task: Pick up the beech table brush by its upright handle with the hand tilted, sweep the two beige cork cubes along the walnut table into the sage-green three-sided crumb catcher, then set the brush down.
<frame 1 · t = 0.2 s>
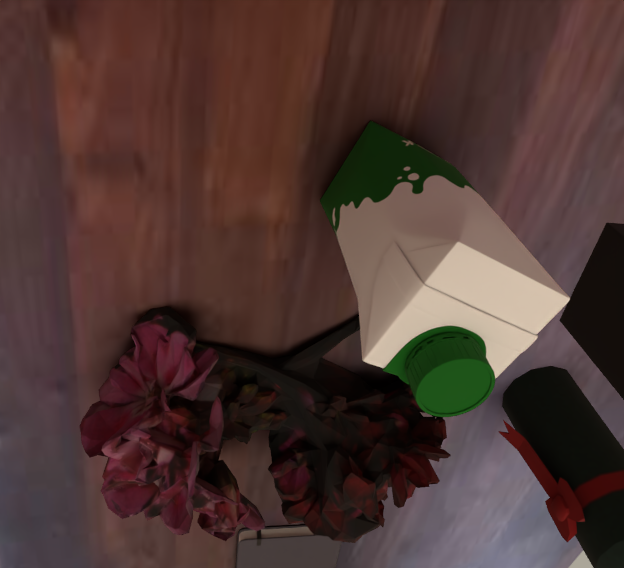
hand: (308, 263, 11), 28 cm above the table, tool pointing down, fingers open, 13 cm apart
flower arrangement: (266, 386, 53), on the table
wine bottle: (526, 391, 58), on the table
soya milk: (381, 179, 42), on the table
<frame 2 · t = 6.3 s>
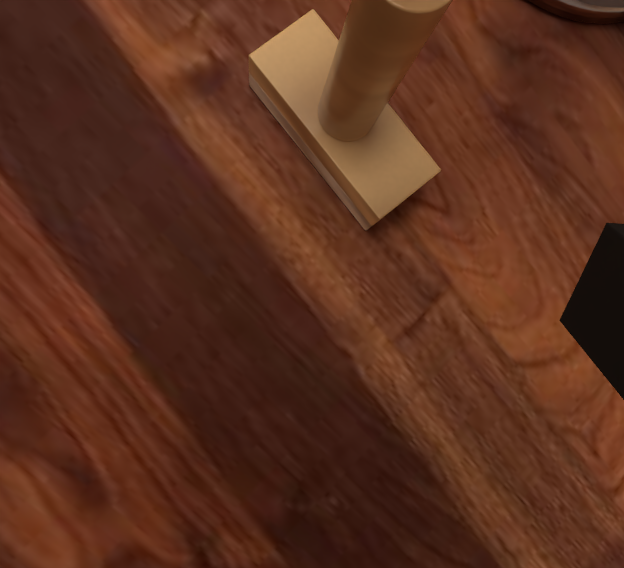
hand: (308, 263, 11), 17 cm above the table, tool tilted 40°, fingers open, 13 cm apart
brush: (335, 136, 29), on the table
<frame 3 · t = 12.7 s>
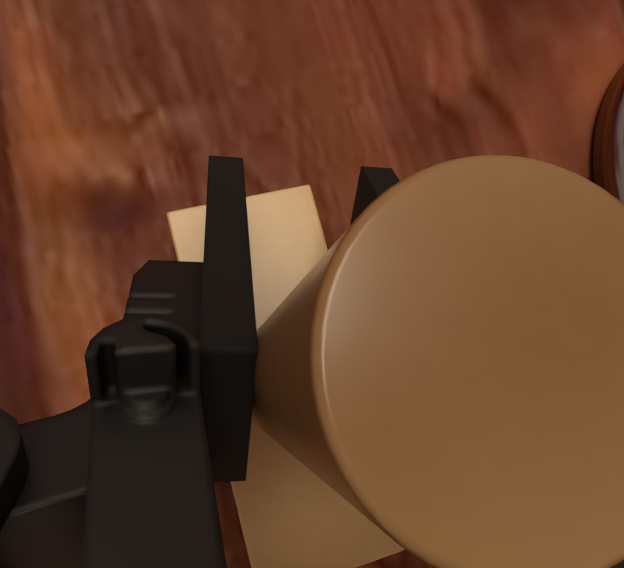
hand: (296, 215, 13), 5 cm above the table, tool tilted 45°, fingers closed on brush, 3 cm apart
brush: (272, 379, 17), on the table, touching gripper
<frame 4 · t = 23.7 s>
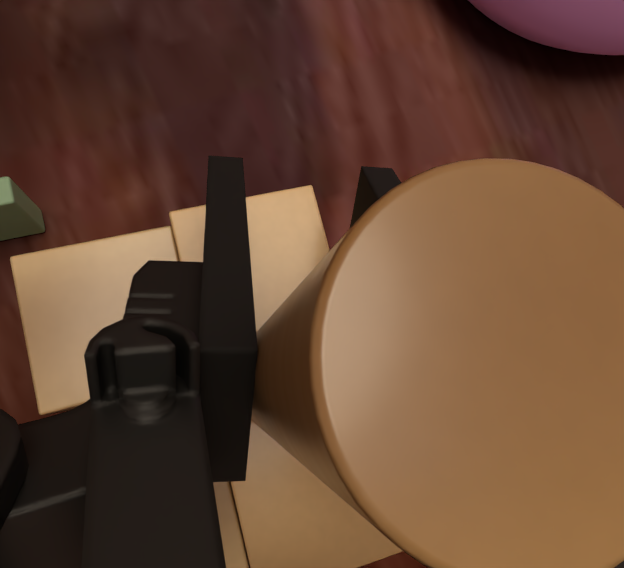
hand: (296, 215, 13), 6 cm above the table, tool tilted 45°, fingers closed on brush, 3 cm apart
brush: (273, 379, 17), point 1 cm above the table, touching gripper
cube a: (165, 494, 17), on the table
cube b: (130, 330, 18), on the table
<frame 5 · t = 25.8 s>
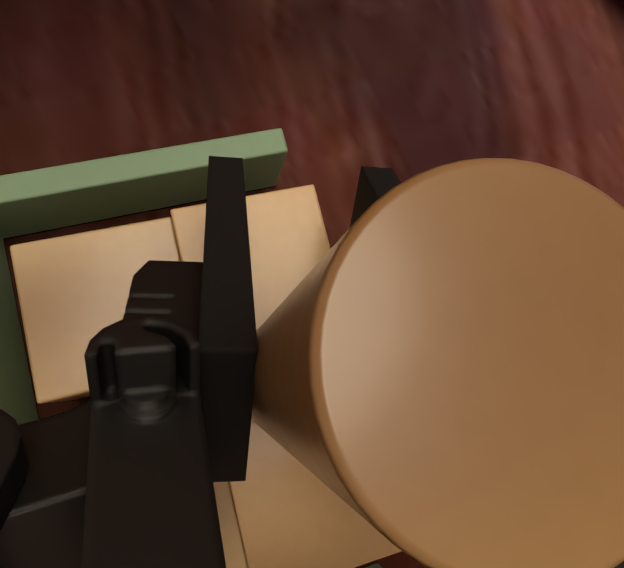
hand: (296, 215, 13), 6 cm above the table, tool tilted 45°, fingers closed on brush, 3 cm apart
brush: (272, 377, 17), point 1 cm above the table, touching cube a, cube b, gripper
cube a: (163, 491, 17), on the table, touching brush
catcher: (176, 406, 17), on the table
cube b: (129, 322, 18), on the table, touching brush
when the fingers open (5 cm above the table, at t = 34.1 s): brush stays where it is, on the table.
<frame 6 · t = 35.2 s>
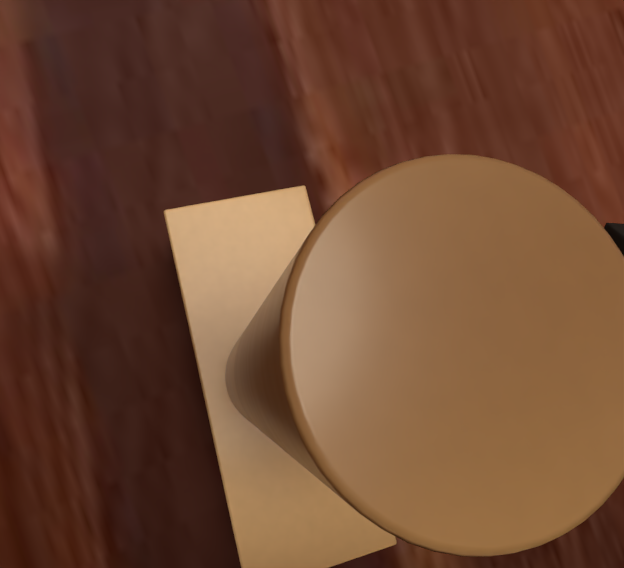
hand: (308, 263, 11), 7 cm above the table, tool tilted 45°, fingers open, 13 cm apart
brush: (265, 376, 18), on the table
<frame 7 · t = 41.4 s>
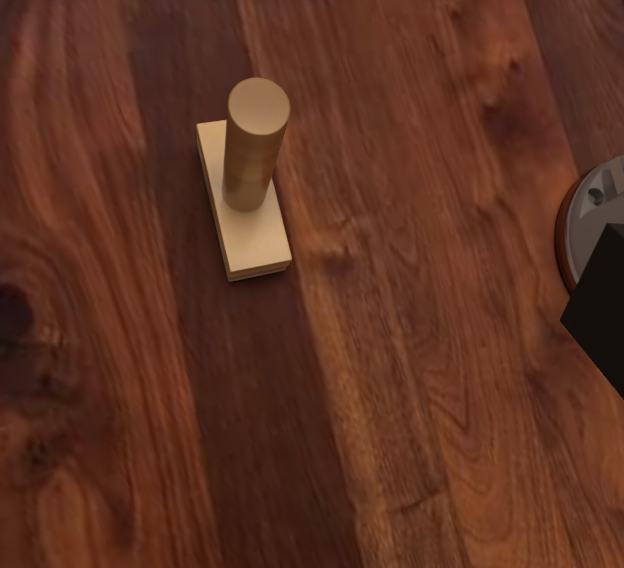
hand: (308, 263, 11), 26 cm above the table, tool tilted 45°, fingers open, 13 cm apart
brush: (241, 207, 38), on the table
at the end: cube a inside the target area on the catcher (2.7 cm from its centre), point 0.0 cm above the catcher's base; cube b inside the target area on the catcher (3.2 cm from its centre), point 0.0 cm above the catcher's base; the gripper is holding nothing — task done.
